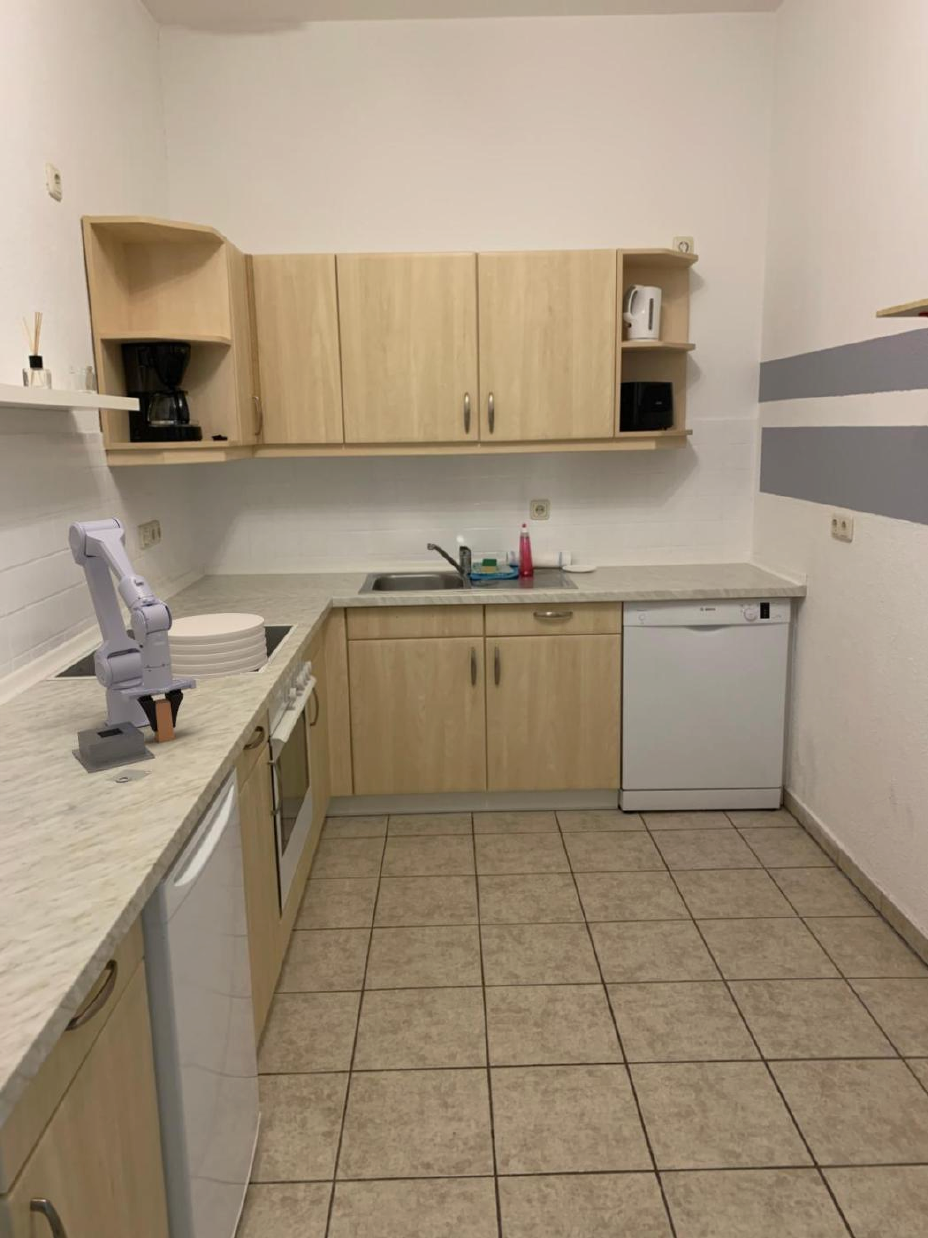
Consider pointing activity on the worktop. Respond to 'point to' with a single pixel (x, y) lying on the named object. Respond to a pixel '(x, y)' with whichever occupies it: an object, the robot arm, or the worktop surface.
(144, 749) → the slotted block
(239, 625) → the plate stack
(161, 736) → the tan rectangular block
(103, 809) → the worktop surface
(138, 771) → the mounting bracket
